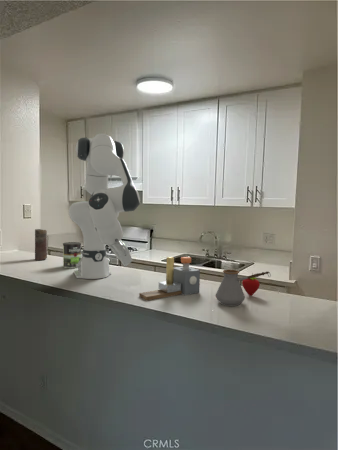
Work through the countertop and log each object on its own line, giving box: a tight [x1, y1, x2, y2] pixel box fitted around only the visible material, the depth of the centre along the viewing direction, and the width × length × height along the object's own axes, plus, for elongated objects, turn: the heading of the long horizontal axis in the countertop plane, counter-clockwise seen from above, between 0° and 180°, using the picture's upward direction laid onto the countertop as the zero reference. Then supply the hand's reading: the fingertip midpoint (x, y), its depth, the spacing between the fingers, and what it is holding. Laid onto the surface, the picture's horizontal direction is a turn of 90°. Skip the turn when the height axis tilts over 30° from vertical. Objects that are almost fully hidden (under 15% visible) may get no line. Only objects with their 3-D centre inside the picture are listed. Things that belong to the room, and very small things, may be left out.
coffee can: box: [62, 241, 82, 269], centre depth 185 cm, size 10×10×14 cm
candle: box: [34, 228, 48, 261], centre depth 205 cm, size 8×7×20 cm
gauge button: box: [180, 256, 192, 270], centre depth 139 cm, size 5×5×11 cm
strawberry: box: [241, 272, 261, 297], centre depth 134 cm, size 6×8×10 cm
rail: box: [138, 289, 183, 301], centre depth 132 cm, size 6×18×2 cm, turn 124°
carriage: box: [158, 256, 181, 293], centre depth 134 cm, size 7×7×14 cm
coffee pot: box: [215, 269, 272, 307], centre depth 121 cm, size 21×12×15 cm, turn 53°
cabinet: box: [174, 265, 201, 296], centre depth 139 cm, size 11×8×10 cm
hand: (120, 258), depth 125 cm, fingers open, 8 cm apart
